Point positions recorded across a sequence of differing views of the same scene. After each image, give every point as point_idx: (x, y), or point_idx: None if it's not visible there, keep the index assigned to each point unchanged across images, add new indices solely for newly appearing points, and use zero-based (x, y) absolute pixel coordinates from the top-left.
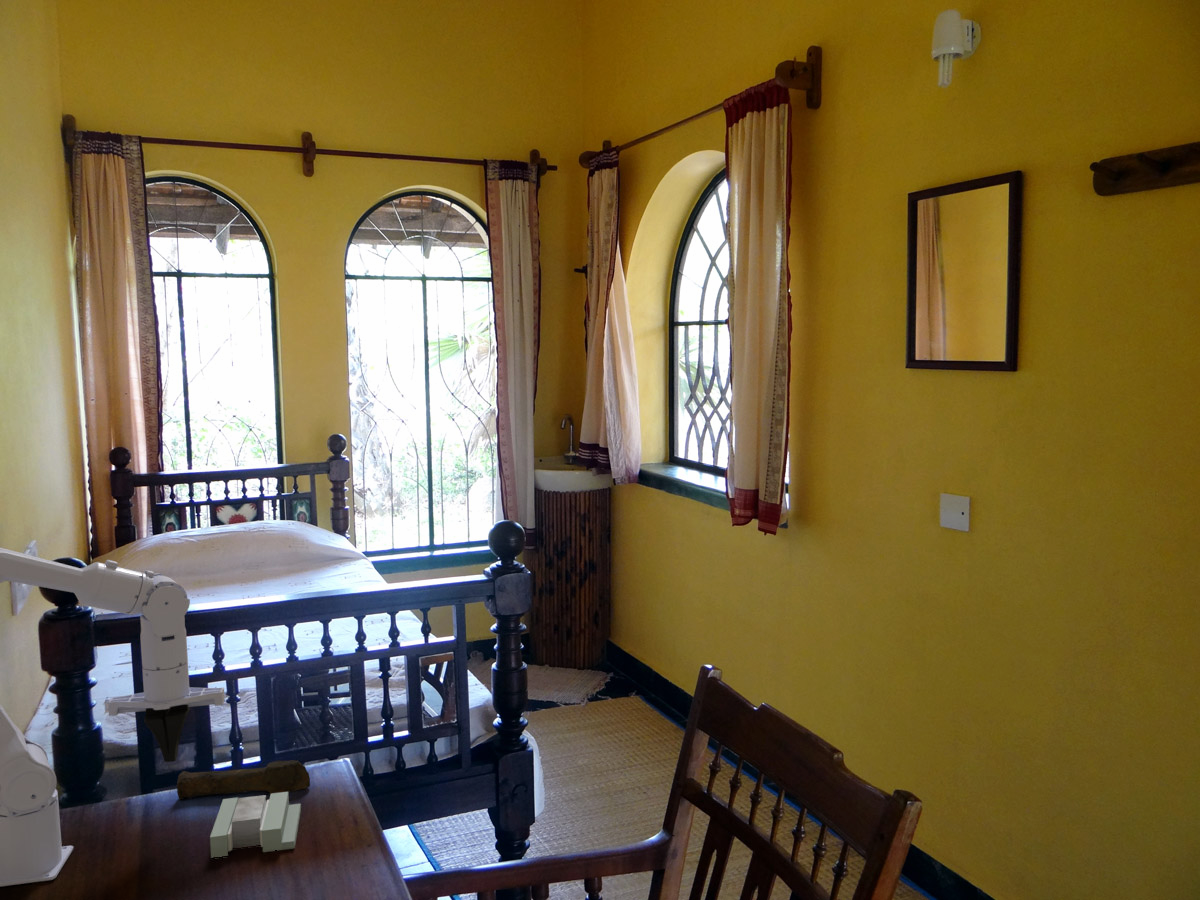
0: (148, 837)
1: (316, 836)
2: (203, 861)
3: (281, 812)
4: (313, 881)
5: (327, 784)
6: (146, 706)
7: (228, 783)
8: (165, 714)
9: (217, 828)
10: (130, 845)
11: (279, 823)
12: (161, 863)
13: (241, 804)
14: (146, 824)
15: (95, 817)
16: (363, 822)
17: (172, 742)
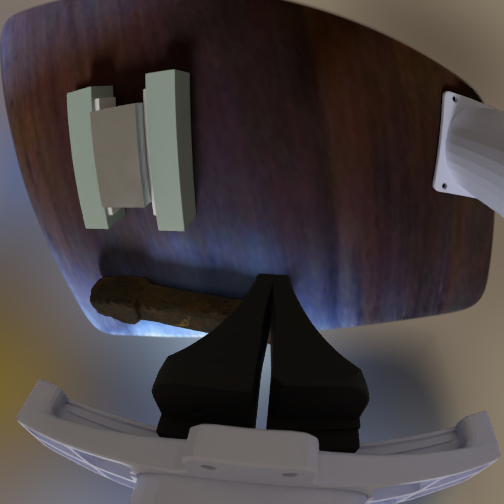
0: (320, 186)
1: (57, 129)
2: (202, 68)
3: (74, 150)
4: (55, 17)
5: (85, 280)
6: (363, 462)
7: (200, 303)
8: (267, 418)
9: (166, 103)
10: (348, 166)
11: (70, 111)
12: (278, 78)
13: (132, 178)
14: (330, 237)
15: (403, 284)
16: (22, 161)
17: (251, 306)
